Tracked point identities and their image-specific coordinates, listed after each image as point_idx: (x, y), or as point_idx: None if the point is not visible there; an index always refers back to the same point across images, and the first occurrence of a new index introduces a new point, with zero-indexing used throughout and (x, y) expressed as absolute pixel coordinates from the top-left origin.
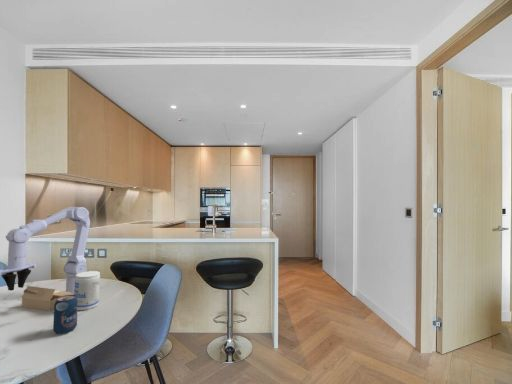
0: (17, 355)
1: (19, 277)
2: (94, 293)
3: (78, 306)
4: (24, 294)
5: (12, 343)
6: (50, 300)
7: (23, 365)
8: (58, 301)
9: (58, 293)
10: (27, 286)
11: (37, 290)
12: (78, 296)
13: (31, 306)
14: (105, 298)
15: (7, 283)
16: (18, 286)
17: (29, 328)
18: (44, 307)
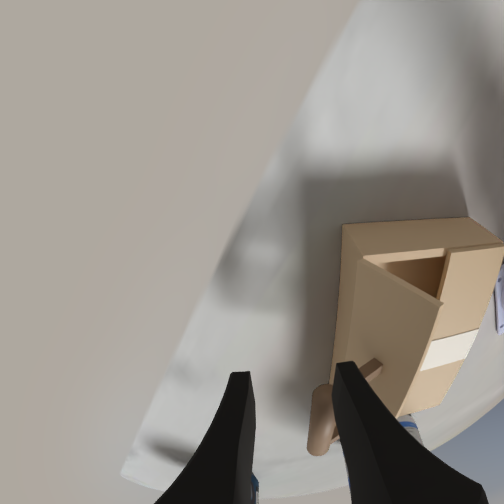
0: (141, 467)
1: (367, 471)
2: None
3: (343, 453)
4: (375, 285)
5: (146, 448)
6: (435, 295)
7: (141, 478)
8: None
9: (428, 383)
10: (435, 306)
11: (385, 391)
12: (349, 482)
13: (341, 305)
14: (444, 413)
15: (214, 440)
16: (338, 372)
17: (200, 435)
18: (332, 379)
